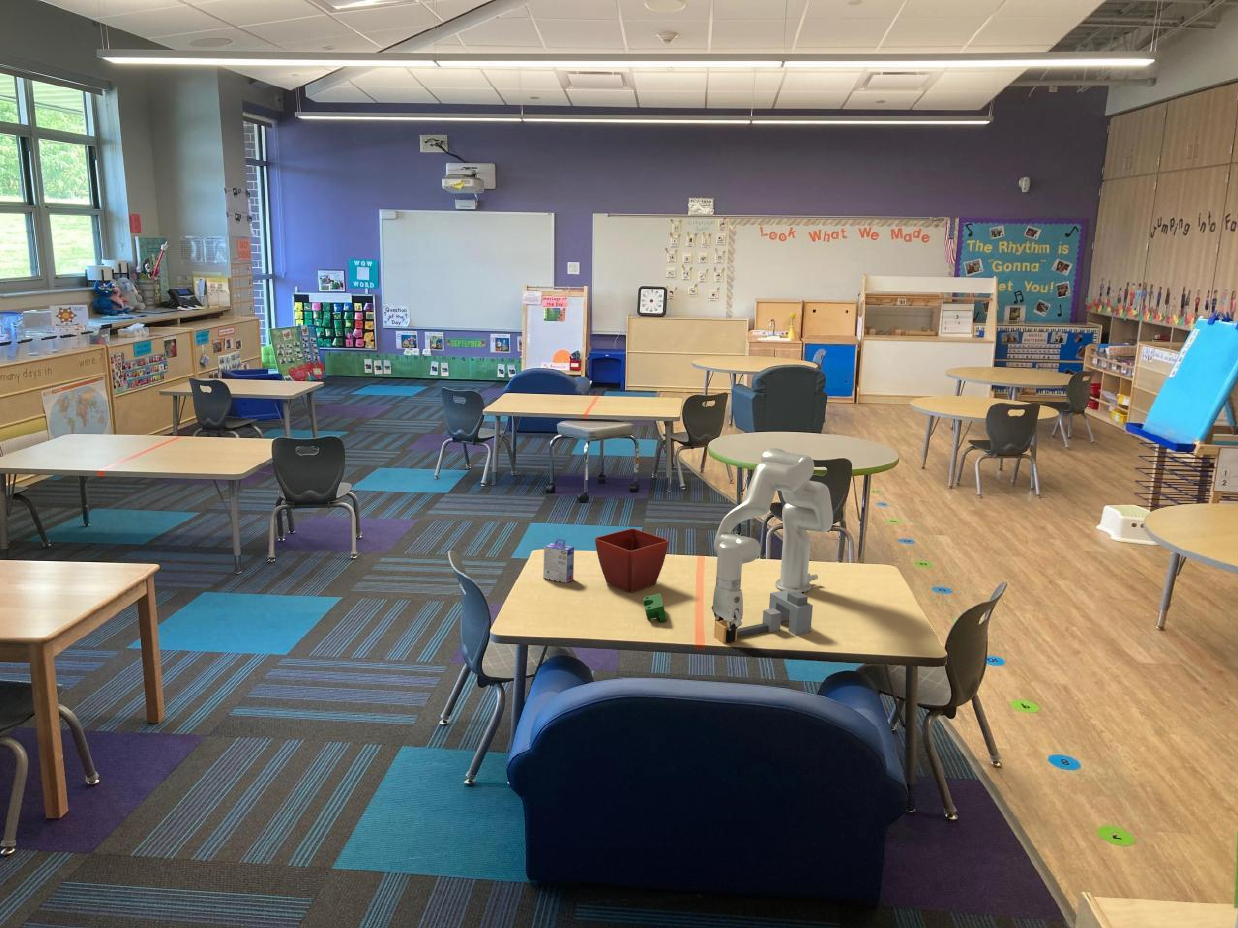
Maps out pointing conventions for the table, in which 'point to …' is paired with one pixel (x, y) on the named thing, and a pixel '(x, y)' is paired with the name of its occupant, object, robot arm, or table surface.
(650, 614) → the clamp
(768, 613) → the cube-ended rod
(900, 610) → the table surface
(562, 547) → the ink cartridge box
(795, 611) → the housing
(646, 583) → the plant pot
